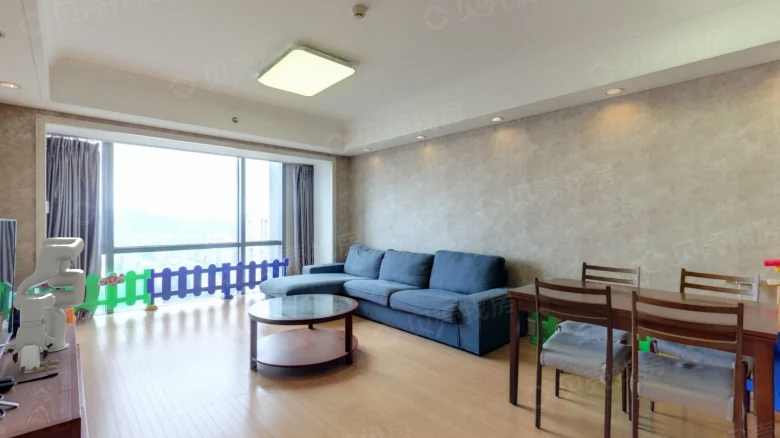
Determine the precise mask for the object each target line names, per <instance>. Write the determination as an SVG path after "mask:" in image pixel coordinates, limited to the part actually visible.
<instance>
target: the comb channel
mask: <svg viewBox="0 0 780 438" xmlns="http://www.w3.org/2000/svg"><path fill="white" fill-rule="evenodd" d="M54 364H60V359H57V360H52V358H51V359H48V360H47V361H40V366H44V367H40V366H39V368H37V367H33V369H30V370H25V366H23V367H21V370H20V375H24V374H30V373H37V372H42V371H43V370H45V371H49V370H55V369H58V368H57V367H58V366H57V365H54ZM49 365H51V366H49Z"/></svg>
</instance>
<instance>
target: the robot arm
mask: <svg viewBox="0 0 780 438" xmlns="http://www.w3.org/2000/svg"><path fill="white" fill-rule="evenodd" d="M84 249H85V242H84V240H83V239H82V238H80V237H48V238H45V239H43V240H42V243H41V249H40V250H39V254H38V257H37V262H36V266H35V268H34V272H33V274H31V275H29V276H28V277H27V278H25V279H24V280H22V282H21V284H19V286H18V287H17V290H16V293H15V296H14V300H13V306H14V308H15V309H16V310H18V311H20V326H19V327H18V329H17V332H16V336H15V340H13V341H10V342H9V343H7V344H5V345H4V346H3V347H4V349H5V350H6V351H7V352H8V353H9V354H11V355H12V360H11V361H12V362H13V363H14V364H16V363H17V362H19V351H21V350H22V348H23V347H24V346H25V345H32V344H35V345H36V346H37V347H40V353H42V359H43V360H45V359H47V357H48V356H49V353H52V352H58V351H62V350H65V349H68V348H69V346H70V343H68V342H66V336H67V313H66V312H65V310H64V309H63V308H75V307H79V306H81V305H82V304H83V303H84V300H85V292H86V291H85V290H86V279H87V277H86V272H85V271H84V270H82V269H77V268H76V269H70V266H71V262H72V261H74V260H76V259H77V258H78V257H79V255H80V254H81V253H83V250H84ZM44 281H47V282H46V283H47V285H48V287H50V288H72V289H53V290H52V289H51V290H46V291H45V292H43V293H42V292H41V293H40V292H39V293H27V292H28V291H29V289H31V288H32V287H34V286H35V285H37V284H39V283H41V282H44ZM14 345H15V346H14ZM11 346H14V348H15V349H14V348H12V347H11Z"/></svg>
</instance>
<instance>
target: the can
mask: <svg viewBox="0 0 780 438" xmlns="http://www.w3.org/2000/svg"><path fill="white" fill-rule="evenodd" d="M40 363H41V352H40V347H37V346H36V345H35V344H32V345H25V346H24V347H23V348H22V350H20V365H19V370H20V371H21V367H23V366H25V370H30V369H33V367H37V368H40Z"/></svg>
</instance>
